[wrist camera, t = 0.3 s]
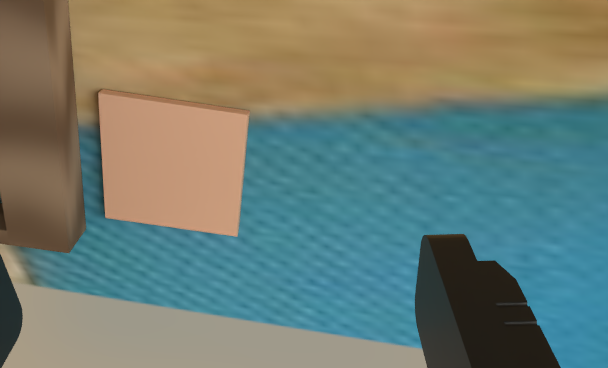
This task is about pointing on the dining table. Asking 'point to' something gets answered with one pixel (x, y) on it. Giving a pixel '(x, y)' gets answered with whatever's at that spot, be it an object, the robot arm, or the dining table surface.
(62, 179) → the well board
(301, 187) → the dining table surface
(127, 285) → the dining table surface
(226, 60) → the dining table surface
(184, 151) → the terracotta tile
